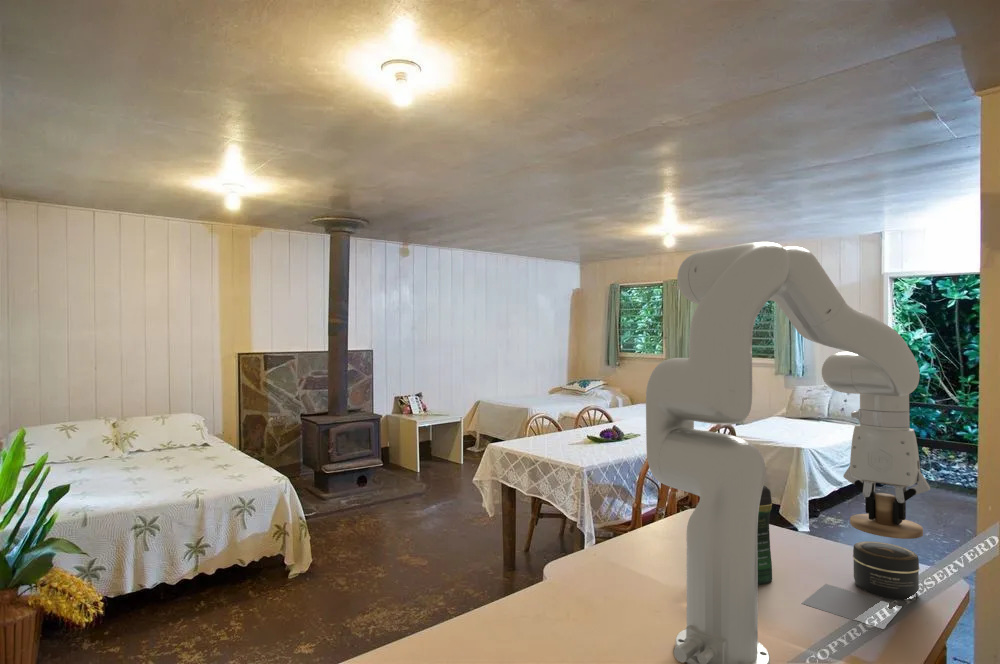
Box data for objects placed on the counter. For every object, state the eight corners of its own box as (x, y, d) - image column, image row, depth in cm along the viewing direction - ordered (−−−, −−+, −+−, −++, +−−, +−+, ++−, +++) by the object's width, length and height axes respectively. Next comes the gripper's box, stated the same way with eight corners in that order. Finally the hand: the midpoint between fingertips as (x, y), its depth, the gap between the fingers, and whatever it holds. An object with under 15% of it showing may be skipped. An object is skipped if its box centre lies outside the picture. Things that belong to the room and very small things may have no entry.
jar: (854, 576, 110) (854, 536, 110) (918, 589, 104) (917, 547, 105) (851, 595, 102) (851, 552, 102) (921, 610, 96) (920, 564, 96)
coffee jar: (780, 585, 106) (780, 485, 106) (745, 590, 103) (745, 488, 104) (743, 565, 115) (743, 473, 115) (710, 570, 112) (710, 476, 113)
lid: (914, 543, 96) (914, 507, 96) (841, 527, 104) (841, 494, 104) (929, 529, 103) (929, 495, 103) (860, 515, 111) (859, 484, 111)
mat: (884, 633, 88) (884, 629, 88) (801, 606, 97) (801, 603, 97) (903, 609, 96) (903, 606, 96) (825, 587, 105) (825, 583, 105)
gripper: (827, 417, 107) (828, 514, 107) (935, 426, 95) (937, 536, 95) (840, 413, 112) (841, 507, 112) (944, 422, 100) (946, 526, 100)
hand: (885, 519), depth 103 cm, fingers closed on lid, 3 cm apart
